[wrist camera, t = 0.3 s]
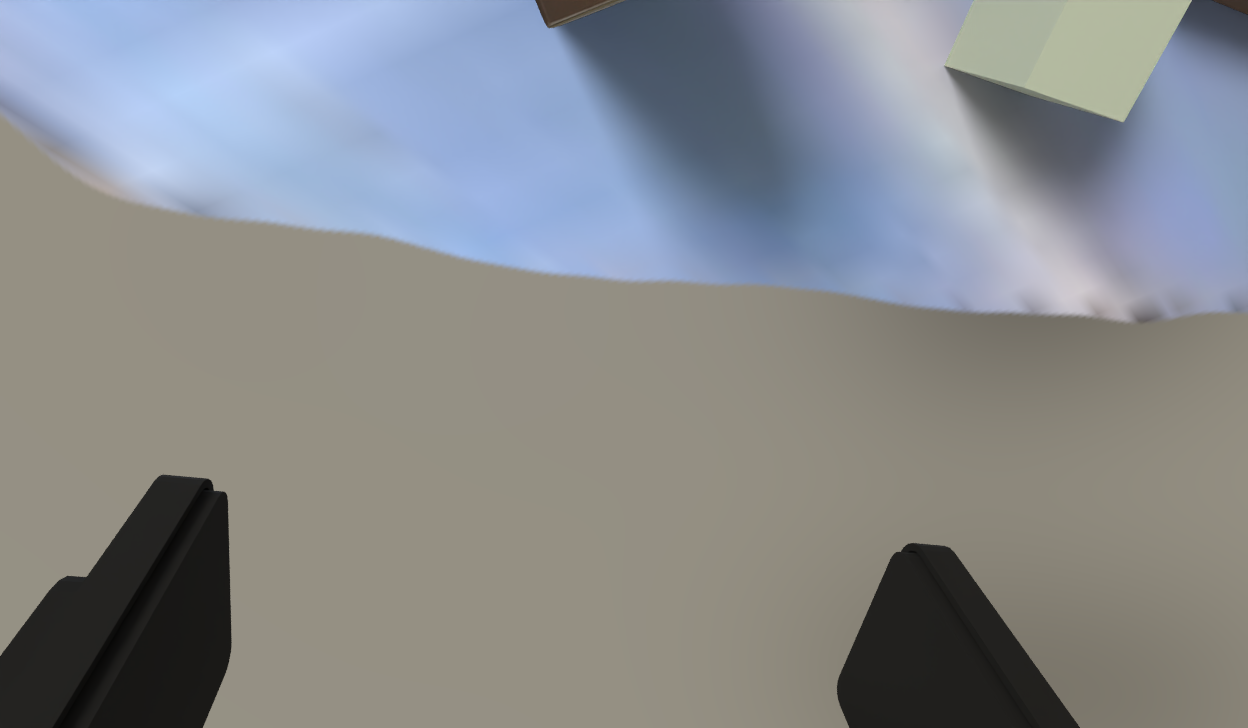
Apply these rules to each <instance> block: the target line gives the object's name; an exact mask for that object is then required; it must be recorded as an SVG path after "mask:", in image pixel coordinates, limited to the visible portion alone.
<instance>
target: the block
mask: <svg viewBox="0 0 1248 728" xmlns="http://www.w3.org/2000/svg"><path fill="white" fill-rule="evenodd" d="M1191 1H1192V0H974V1H973V3H972V5H971V8H970V10H969V12H968V14H967V16H966V19H965V21H964V23H963V25H962V27H961V30H960V32H959V34H958V36H957V39H956V41H955V43H954V45H953V47H952V50H951V52H950V54H949V56H948V58H947V61H946V63H945V65H944V66H947V67H949V68H952V69H955V70H958V71H961V72H964V73H967V74H969V75H972V76H975V77H978V78H981V79H984V80H987V81H990V82H992V83H995V84H998V85H1001V86H1004V87H1007V88H1010V89H1012V90H1015V91H1018V92H1021V93H1024V94H1027V95H1030V96H1033V97H1036V98H1040V99H1043V100H1047V101H1050V102H1054V103H1057V104H1061V105H1064V106H1068V107H1071V108H1075V109H1078V110H1082V111H1085V112H1089V113H1092V114H1096V115H1099V116H1103V117H1106V118H1110V119H1113V120H1117V121H1120V122H1124V121H1125V119H1126V117H1127V115H1128V114H1129V112H1130V110H1131V108H1132V106H1133V105H1134V103H1135V101H1136V99H1137V97H1138V96H1139V94H1140V92H1141V90H1142V89H1143V87H1144V85H1145V83H1146V81H1147V80H1148V78H1149V76H1150V74H1151V72H1152V71H1153V69H1154V67H1155V65H1156V64H1157V62H1158V60H1159V58H1160V56H1161V55H1162V53H1163V51H1164V49H1165V47H1166V46H1167V44H1168V42H1169V40H1170V39H1171V37H1172V35H1173V33H1174V31H1175V30H1176V28H1177V26H1178V24H1179V22H1180V21H1181V19H1182V17H1183V15H1184V14H1185V12H1186V10H1187V8H1188V6H1189V5H1190V3H1191Z"/></svg>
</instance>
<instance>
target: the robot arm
mask: <svg viewBox="0 0 1248 728" xmlns="http://www.w3.org/2000/svg"><path fill="white" fill-rule="evenodd" d="M228 529H229V528H228V500H227V494H226V493H225V492H221V491H214V490H213V484H212V482H211V480H209V479H204V478H194V477H183V476H171V475H161V476H159V477H158V478H157V479H156V480H155V481H154V482H153V484H152V485H151V487H150V488H149V489H148V491H147V492H146V494H145V495H144V497H143V498H142V499H141V501H140V502H139V504H138V505H137V507H136V508H135V509H134V511H133V512H132V514H131V515H130V516H129V518H128V519H127V521H126V522H125V524H124V525H123V526H122V528H121V529H120V531H119V532H118V533H117V535H116V536H115V538H114V539H113V540H112V542H111V543H110V545H109V546H108V548H107V549H106V550H105V552H104V553H103V555H102V556H101V558H100V559H99V560H98V562H97V563H96V565H95V566H94V567H93V569H92V570H91V572H90V573H89V575H88V576H87V577H75V576H66V577H65V578H63V579H61V580H59V581H58V582H57V583H56V584H55V585H54V586H53V587H52V588H51V589H50V590H49V592H48V593H47V594H46V596H45V597H44V599H43V600H42V601H41V602H40V604H39V605H38V606H37V608H36V609H35V611H34V612H33V613H32V614H31V616H30V617H29V619H28V620H27V621H26V622H25V624H24V625H23V626H22V628H21V629H20V631H19V632H18V633H17V634H16V636H15V637H14V639H13V640H12V641H11V643H10V644H9V645H8V647H7V648H6V649H5V651H4V652H3V653H2V655H1V656H0V728H203V726H204V723H205V721H206V718H207V716H208V713H209V711H210V709H211V706H212V704H213V702H214V699H215V697H216V695H217V692H218V690H219V687H220V685H221V682H222V680H223V678H224V676H225V673H226V670H227V667H228V663H229V659H230V653H231V605H230V570H229V569H230V567H229V530H228ZM837 695H838V700H839V703H840V706H841V709H842V711H843V713H844V716H845V718H846V721H847V723H848V725H849V728H1080V727H1079V726H1078V724H1077V723H1076V721H1075V720H1074V719H1073V717H1072V716H1071V715H1070V713H1069V712H1068V710H1067V709H1066V708H1065V706H1064V705H1063V703H1062V702H1061V701H1060V699H1059V698H1058V697H1057V695H1056V694H1055V692H1054V691H1053V689H1052V688H1051V687H1050V685H1049V684H1048V682H1047V681H1046V680H1045V678H1044V677H1043V675H1042V674H1041V673H1040V671H1039V670H1038V668H1037V667H1036V666H1035V664H1034V663H1033V661H1032V660H1031V659H1030V658H1029V656H1028V655H1027V653H1026V652H1025V650H1024V649H1023V648H1022V646H1021V645H1020V643H1019V642H1018V641H1017V639H1016V638H1015V637H1014V635H1013V634H1012V632H1011V631H1010V630H1009V628H1008V627H1007V625H1006V624H1005V623H1004V621H1003V620H1002V618H1001V617H1000V615H999V614H998V613H997V611H996V610H995V608H994V607H993V606H992V604H991V603H990V601H989V600H988V599H987V598H986V596H985V595H984V593H983V592H982V590H981V589H980V588H979V586H978V585H977V583H976V582H975V581H974V579H973V578H972V577H971V575H970V574H969V572H968V571H967V569H966V568H965V567H964V565H963V564H962V562H961V561H960V560H959V558H958V557H957V555H956V554H955V553H954V552H953V551H952V550H951V549H950V548H948V547H946V546H939V545H928V544H917V543H911V544H908V545H906V546H905V547H904V548H903V549H902V551H901V552H896V553H895V554H894V555H893V556H892V558H891V559H890V562H889V564H888V566H887V568H886V571H885V573H884V575H883V578H882V580H881V582H880V584H879V587H878V589H877V591H876V594H875V596H874V598H873V600H872V603H871V605H870V607H869V610H868V612H867V614H866V617H865V619H864V621H863V623H862V626H861V628H860V630H859V633H858V635H857V637H856V640H855V642H854V644H853V646H852V649H851V651H850V653H849V655H848V658H847V660H846V662H845V664H844V667H843V669H842V671H841V674H840V676H839V679H838V685H837Z"/></svg>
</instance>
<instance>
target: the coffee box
mask: <svg viewBox="0 0 1248 728" xmlns="http://www.w3.org/2000/svg"><path fill="white" fill-rule="evenodd" d="M623 1H625V0H536V3H537V5H538V8H539V10H540V13H541V15H542V17H543V20H544V22H545V24H546V26H547V27H548V28H553V27H557V26H561V25H563V24H566V23H569V22H571V21H574V20H577V19H579V18H582V17H584V16H587V15H590V14H592V13H595V12H597V11H600V10H603V9H605V8H608V7H610V6H613V5H615V4H618V3H620V2H623Z"/></svg>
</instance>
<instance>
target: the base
mask: <svg viewBox="0 0 1248 728" xmlns="http://www.w3.org/2000/svg"><path fill="white" fill-rule="evenodd" d="M1213 1H1215V2H1218V3H1220V4H1223V5H1225V6H1228V7H1230V8H1233V9H1235V10H1237V11H1240V12H1242V13H1245V14H1247V15H1248V0H1213Z"/></svg>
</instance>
